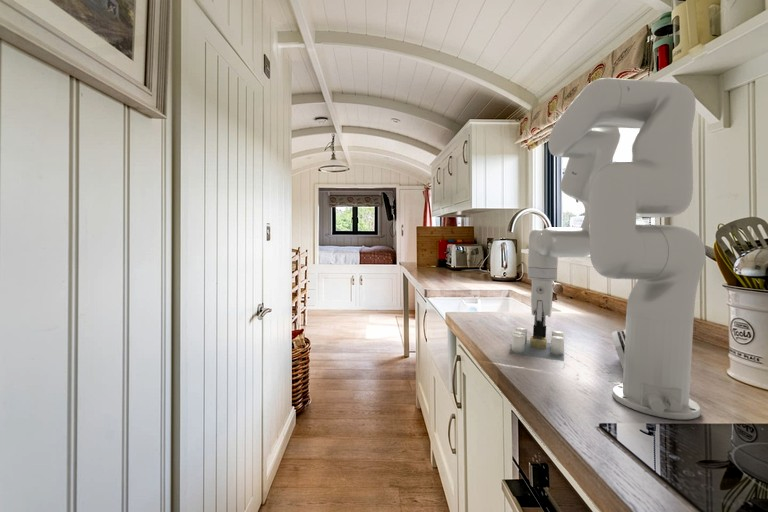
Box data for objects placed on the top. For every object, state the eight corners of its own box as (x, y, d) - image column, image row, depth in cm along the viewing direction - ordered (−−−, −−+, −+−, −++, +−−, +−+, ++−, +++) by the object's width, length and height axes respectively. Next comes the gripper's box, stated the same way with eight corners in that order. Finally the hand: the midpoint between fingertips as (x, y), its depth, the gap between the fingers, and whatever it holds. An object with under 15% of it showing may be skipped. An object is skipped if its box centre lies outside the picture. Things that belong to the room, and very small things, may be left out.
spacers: (563, 359, 90) (564, 343, 89) (510, 351, 95) (510, 336, 95) (563, 346, 101) (564, 331, 101) (516, 340, 107) (516, 326, 106)
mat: (563, 362, 89) (563, 360, 89) (509, 354, 94) (509, 352, 94) (563, 346, 103) (563, 344, 103) (516, 340, 108) (516, 338, 108)
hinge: (656, 385, 75) (638, 336, 77) (629, 388, 78) (612, 341, 79) (646, 363, 90) (631, 322, 91) (624, 366, 92) (610, 326, 93)
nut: (545, 349, 97) (546, 340, 97) (529, 347, 99) (529, 338, 99) (546, 345, 102) (546, 336, 102) (530, 343, 103) (531, 334, 103)
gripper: (556, 277, 95) (553, 348, 96) (557, 273, 108) (554, 335, 109) (525, 275, 98) (522, 344, 99) (530, 271, 112) (527, 332, 112)
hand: (539, 339), depth 104 cm, fingers closed
